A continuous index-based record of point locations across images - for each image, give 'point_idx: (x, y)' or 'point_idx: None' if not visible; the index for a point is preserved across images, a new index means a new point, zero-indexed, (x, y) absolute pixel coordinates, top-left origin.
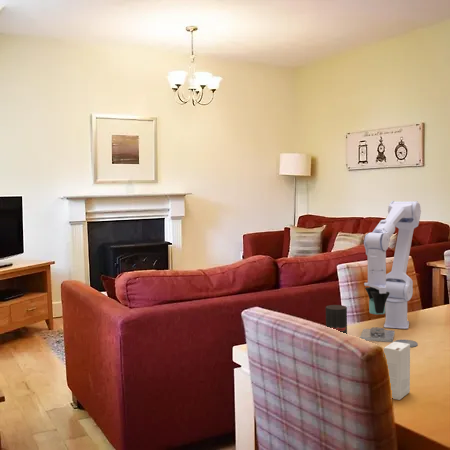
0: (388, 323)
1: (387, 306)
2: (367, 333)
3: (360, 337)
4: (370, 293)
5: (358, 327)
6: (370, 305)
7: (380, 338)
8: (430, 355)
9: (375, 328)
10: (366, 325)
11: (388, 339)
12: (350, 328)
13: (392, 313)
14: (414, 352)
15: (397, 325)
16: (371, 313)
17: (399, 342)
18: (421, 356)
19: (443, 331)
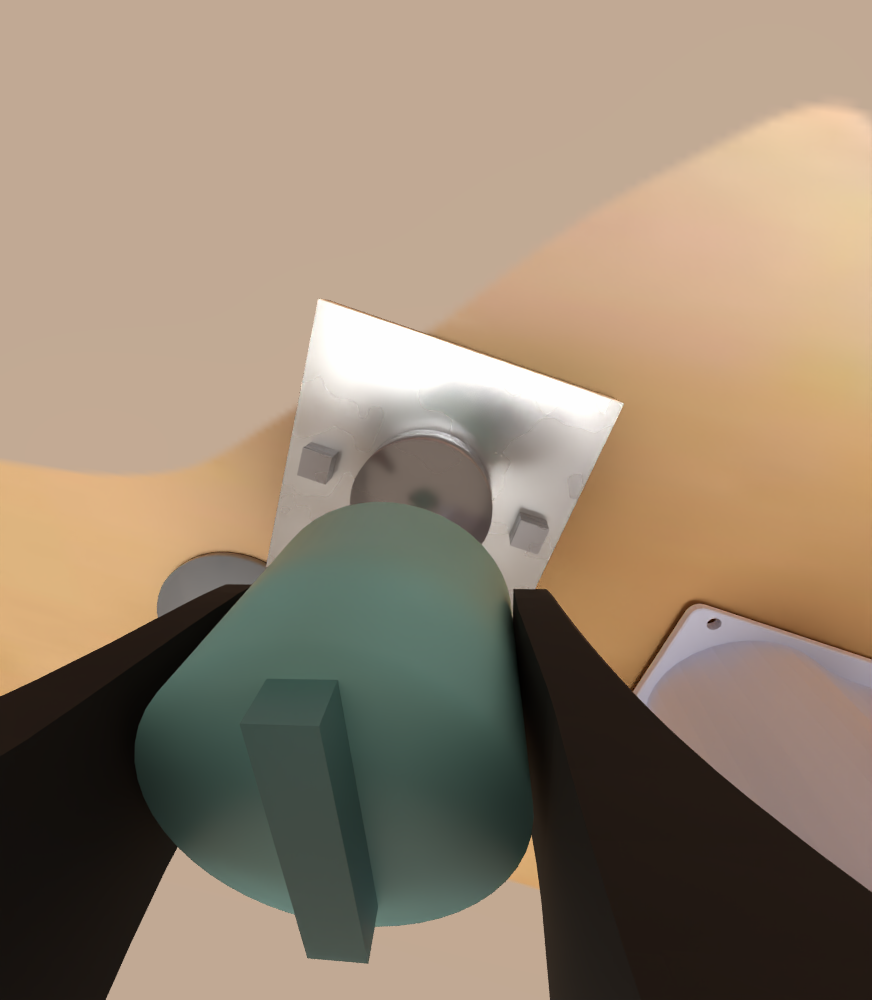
0: (719, 660)
1: (852, 819)
2: (435, 404)
3: (317, 305)
4: (597, 940)
5: (789, 377)
6: (284, 581)
7: (282, 483)
8: (38, 676)
9: (446, 498)
10: (837, 476)
11: (274, 538)
12: (779, 275)
13: (730, 772)
14: (71, 618)
15: (652, 704)
16: (319, 519)
17: None
18: (4, 630)
19: (520, 876)
